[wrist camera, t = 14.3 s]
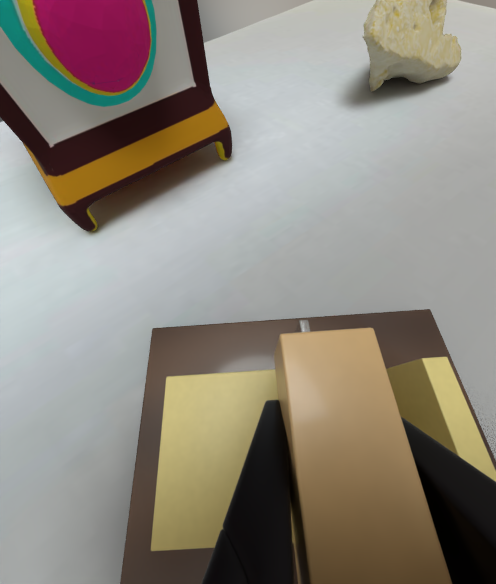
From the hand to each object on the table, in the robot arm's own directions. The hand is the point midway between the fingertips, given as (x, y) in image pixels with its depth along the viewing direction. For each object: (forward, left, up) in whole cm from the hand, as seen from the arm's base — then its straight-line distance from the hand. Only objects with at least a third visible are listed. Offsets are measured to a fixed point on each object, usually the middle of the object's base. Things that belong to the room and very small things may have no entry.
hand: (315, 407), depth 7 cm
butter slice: (-4, -5, -8) cm, 11 cm away
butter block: (0, +2, -8) cm, 8 cm away
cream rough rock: (+23, -35, -9) cm, 43 cm away
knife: (-1, +1, -6) cm, 6 cm away
